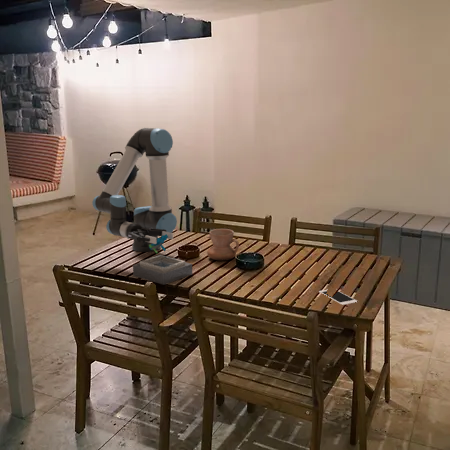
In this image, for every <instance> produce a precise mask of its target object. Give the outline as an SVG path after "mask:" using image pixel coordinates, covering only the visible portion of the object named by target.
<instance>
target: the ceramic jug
mask: <svg viewBox="0 0 450 450" xmlns="http://www.w3.org/2000/svg"><path fill="white" fill-rule="evenodd" d="M234 233H235V232H234V230H233V229H230V228H229V229H228V228H216V229H211V230H210V231H209V234H208V235H207V234H206V238H207V239H210V240H211V242H212V245H211V246H210V247H209V248H207V252H206V254H207V256H208V258H210V259H212V260H215V261H228V260H232V259H234V258H235V257H236V255H237V252H238V250H239V248H240V242H239V240H238V239H236V238H234ZM234 242H235V248H234V247H232V246H231V244H232V243H234Z"/></svg>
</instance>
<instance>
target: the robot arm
mask: <svg viewBox="0 0 450 450" xmlns="http://www.w3.org/2000/svg"><path fill="white" fill-rule="evenodd" d="M127 141H128V142H127V143H126V145H125V147H124V148H125V151H124V152H123V155H122V156H121V158H120V160H119V162H118V163H117V165H116V167H115V168H114V170H113V172H112V174H111V176H110V177H109V179H108V181H107V182H106V183H105V186H104V188H103V190H102V192H101V193H100V195H96V196H94V198H93V199H92V202H91V203H92V204H91V205H92V207H93V209H94V210H96V211H99V212H101V213H107V214H110V219H109V220H108V221H107V224H106V225H105V226H106V228H105V229H106V231H107V232H108V233H109V234H111V235H114V236H116V237H117V236H118V237H122V238H126V239H127V240H133V242H132V246H131V247H132V248H131V249H132V250H133V251H134V252H141V253H144V252H145V253H147V252H155V251H154V250H151V249H150V248H149V245H150V244H157V242H156V240H157V239H158V238H159V237H161V236H163V235H166V234H167V236H168V238H167V239H169V240H174V233H173V231H174V230H175V229H176V227H177V224H178V220H177V217H176V215H175V214H174V213H173V208H172V207H171V206H170V205H169V204H170V203H169V191H168V187H169V186H168V170H167V158H168V157H169V156H170V151H171V150H172V148H173V144H174V141H173V137H172V134H171V133H170V132H169V131H168V130H166V129H165V128H159V127H157V128H156V127H155V128H154V127H153V128H151V127H150V128H149V127H144V128H143V127H142V128H139V129H138V130H137V131H136V132H134V134H133V135H132V136H131V138H130V139H129V140H127ZM144 154H145V157H146V158H147V159H148V163H149V165H148V166H149V179H150V180H149V182H150V195H151V197H150V200H151V205H148V206H140V207H136V208H134V211H133V220H134V223H133V222H129V221H127V199H126V196H125V195H122V194H121V195H120V194H119V193H120V192H121V190H122V188H123V187H124V185H125V183H126V181H127V180H128V178H129V176H130V174H131V172H132V171H133V169H134V167H135V165H136V164H137V162H138V160H139V158H142V157H143V155H144ZM160 249H161V246H160V247H158V248H156V249H155V250H156V251H158V250H160Z"/></svg>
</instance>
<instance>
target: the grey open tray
mask: <svg viewBox="0 0 450 450" xmlns="http://www.w3.org/2000/svg"><path fill="white" fill-rule="evenodd" d="M132 273H133V275H132V276H133V277H138V278H139V279H140V278H141V279H144V280H147V281H150V282H154V283H157V284H160V285H164V286H165V285H167V284H170V283H173V282H176V281H179V280H181V279H183V278H186V277H189V276H192V275H193V263H191V262H190V263H189V262H186V261H185V260H181V259H177V258H175V257H170V256H167V255H162V254H160V255H157V256H153V257H149V258H147V259H143V260H140V261H139V262H138V263H135V264H133V265H132Z"/></svg>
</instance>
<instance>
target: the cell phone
mask: <svg viewBox="0 0 450 450" xmlns="http://www.w3.org/2000/svg"><path fill="white" fill-rule="evenodd" d="M327 290H328V289H324V290H319V291H318V293H319V294H322V295H323V294H324V296H325V295H326V296H325V297H327V295H328V294H326V293H327ZM327 298H329V299H330V298H331V300H332V301H334V302H336V303H337V304H339V305H342V306H344V305H349V304H350V305H351V304H355V302H356V303H358V302H357V301H358V300H357V299H355V298H353V297H351V296H349V295H347V294H345V293H344V292H341V291H340V290H338V292H337V293H336V294H335V295H334V296H333V297H331V296H330V297H329V295H328V297H327Z"/></svg>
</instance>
